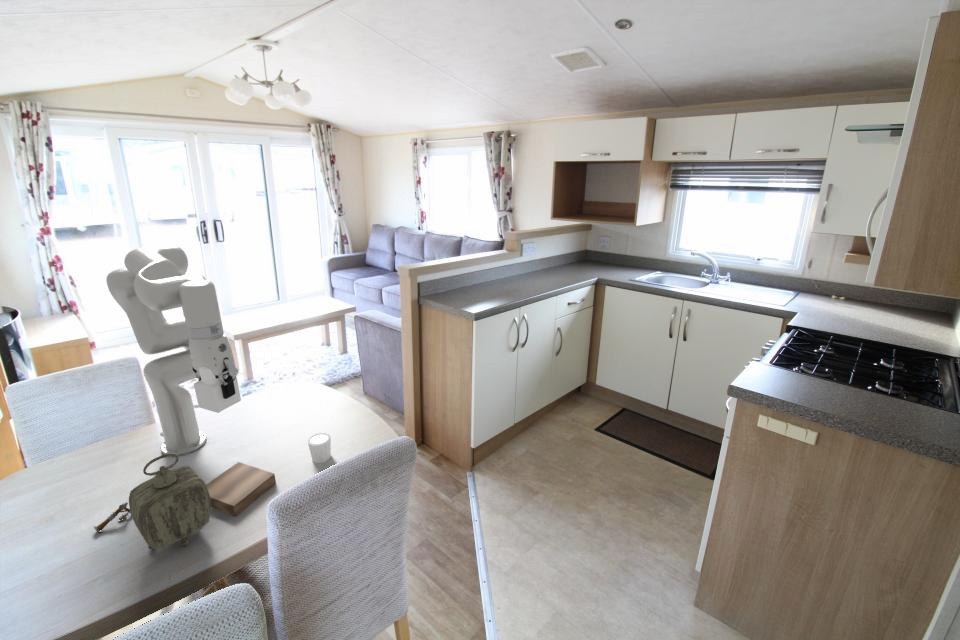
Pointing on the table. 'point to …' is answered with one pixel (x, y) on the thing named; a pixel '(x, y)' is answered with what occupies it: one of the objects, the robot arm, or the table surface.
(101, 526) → the wooden post with brackets
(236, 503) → the block
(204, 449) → the table surface
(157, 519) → the camouflage pouch
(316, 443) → the white cup
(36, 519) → the table surface
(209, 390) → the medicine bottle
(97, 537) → the table surface
